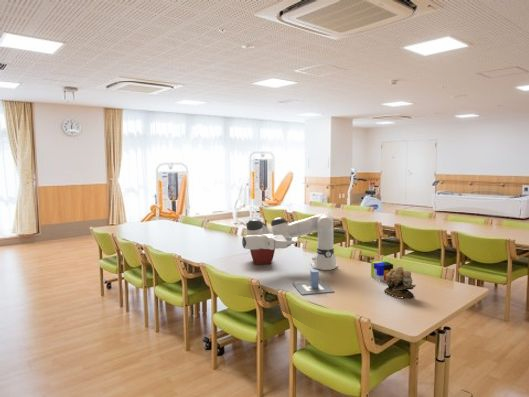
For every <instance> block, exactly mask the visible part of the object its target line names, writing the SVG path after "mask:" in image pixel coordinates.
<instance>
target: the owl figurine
mask: <svg viewBox="0 0 529 397" xmlns="http://www.w3.org/2000/svg"><path fill="white" fill-rule="evenodd" d="M385 283H386V284H387V287H386V288H385V289H384V290H383V292H384V294H386V293H387V294H386V295H388V294H390V295H393V296H397V297H403V298H402V299H406V298H408V299H412V298H413V297H414V296H415V295H414V294H413V292H412V291H410V290H414V288H415V287H416V286H417V285H416V284H413V278H412V272H411V271H410V270H407V269H406V270H404V267H403V266H401V265H398V266H396V267H395V268H393V269H391V270H390V272H389V273H388V274H386V280H385ZM390 295H389V296H390ZM393 296H392V297H393ZM397 297H396V298H397Z"/></svg>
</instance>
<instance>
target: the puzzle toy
mask: <svg viewBox="0 0 529 397" xmlns="http://www.w3.org/2000/svg"><path fill="white" fill-rule="evenodd" d="M391 269H394V264H393V263H391V262H389V261H386V260H375V261H371V263H370V277H371V276H372V277H371V278H373V279H375V280H376V279H377V281H378V280H384V281H386V274H388V273H389V272H390V270H391Z"/></svg>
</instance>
